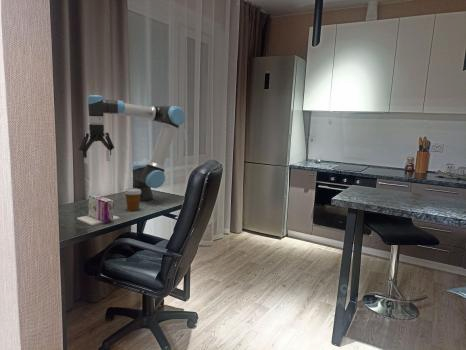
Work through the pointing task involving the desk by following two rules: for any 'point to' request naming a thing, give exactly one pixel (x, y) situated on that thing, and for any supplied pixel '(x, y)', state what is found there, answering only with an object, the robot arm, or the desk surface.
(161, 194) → the desk surface
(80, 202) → the desk surface
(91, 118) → the robot arm
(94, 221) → the rubber mat
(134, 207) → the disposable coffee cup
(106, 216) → the candy bar box
